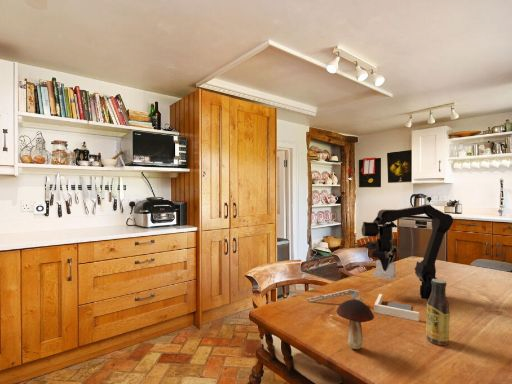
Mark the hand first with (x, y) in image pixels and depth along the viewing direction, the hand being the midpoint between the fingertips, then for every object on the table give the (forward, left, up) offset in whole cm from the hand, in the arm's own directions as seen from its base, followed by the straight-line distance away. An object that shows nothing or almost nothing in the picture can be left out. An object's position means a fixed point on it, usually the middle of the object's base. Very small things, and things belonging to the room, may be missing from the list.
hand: (385, 270), depth 131 cm
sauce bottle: (-19, +35, -12) cm, 42 cm away
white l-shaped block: (-6, +15, -12) cm, 20 cm away
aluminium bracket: (+1, +2, -3) cm, 3 cm away
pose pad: (-6, +13, -12) cm, 19 cm away
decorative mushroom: (+3, +53, -12) cm, 55 cm away
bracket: (+18, +21, -12) cm, 31 cm away
